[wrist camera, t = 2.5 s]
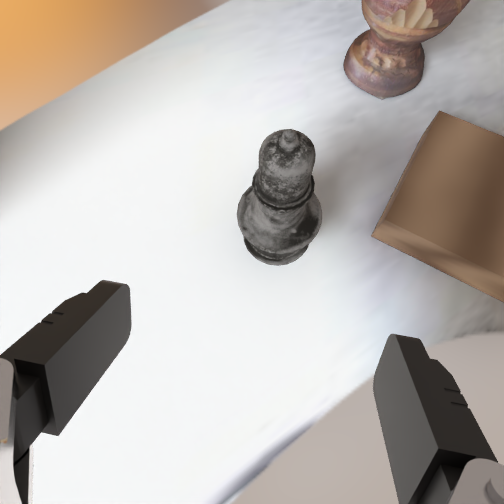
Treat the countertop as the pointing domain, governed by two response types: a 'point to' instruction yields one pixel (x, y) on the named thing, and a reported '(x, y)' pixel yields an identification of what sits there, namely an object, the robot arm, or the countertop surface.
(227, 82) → the countertop surface
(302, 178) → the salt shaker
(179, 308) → the countertop surface
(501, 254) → the walnut plinth
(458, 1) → the mortar and pestle
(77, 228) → the countertop surface
